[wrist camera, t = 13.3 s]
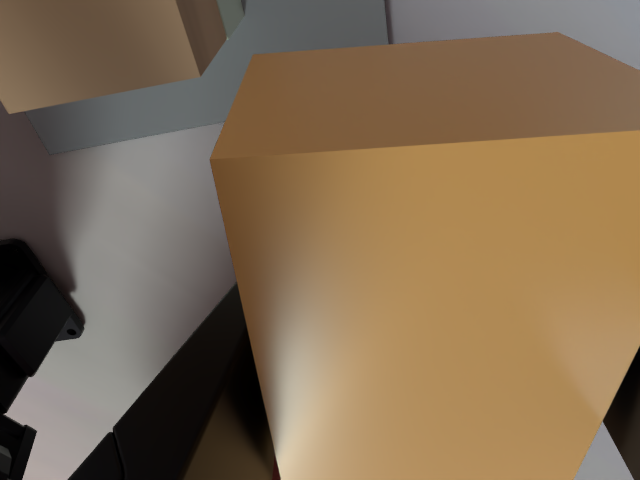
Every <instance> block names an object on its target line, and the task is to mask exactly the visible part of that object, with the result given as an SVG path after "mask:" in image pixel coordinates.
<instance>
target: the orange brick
mask: <svg viewBox="0 0 640 480" xmlns="http://www.w3.org/2000/svg"><path fill="white" fill-rule="evenodd" d="M210 163H211V168H212V172H213V177H214V181H215V186H216V190H217V195H218V199H219V204H220V208H221V213H222V217H223V222H224V226H225V231H226V235H227V240H228V244H229V248H230V253H231V257H232V262H233V266H234V271H235V275H236V280H237V284H238V289H239V293H240V298H241V302H242V307H243V311H244V316H245V320H246V325H247V329H248V334H249V338H250V343H251V347H252V352H253V356H254V361H255V365H256V370H257V374H258V378H259V383H260V387H261V392H262V396H263V401H264V405H265V410H266V414H267V419H268V423H269V428H270V432H271V437H272V441H273V446H274V450H275V455H276V459H277V464H278V468H279V473H280V477H281V480H573V479H574V477H575V475H576V473H577V471H578V469H579V467H580V465H581V463H582V461H583V459H584V457H585V455H586V453H587V451H588V449H589V447H590V445H591V443H592V441H593V439H594V437H595V435H596V433H597V431H598V429H599V427H600V425H601V423H602V421H603V419H604V417H605V415H606V413H607V411H608V409H609V407H610V405H611V403H612V401H613V399H614V397H615V395H616V393H617V391H618V389H619V387H620V385H621V383H622V381H623V379H624V377H625V375H626V373H627V370H628V368H629V366H630V364H631V362H632V360H633V358H634V356H635V354H636V352H637V350H638V348H639V346H640V70H637V69H635V68H633V67H631V66H629V65H627V64H625V63H623V62H620V61H618V60H616V59H614V58H612V57H610V56H608V55H606V54H603V53H601V52H599V51H597V50H595V49H593V48H591V47H589V46H586V45H584V44H582V43H580V42H578V41H576V40H574V39H572V38H569V37H567V36H565V35H563V34H561V33H559V32H553V33H540V34H526V35H512V36H498V37H485V38H471V39H457V40H444V41H430V42H416V43H403V44H389V45H375V46H362V47H348V48H334V49H320V50H307V51H293V52H279V53H266V54H253V55H252V58H251V60H250V63H249V65H248V68H247V70H246V72H245V75H244V77H243V80H242V82H241V85H240V87H239V89H238V92H237V94H236V97H235V99H234V102H233V104H232V106H231V109H230V111H229V114H228V116H227V119H226V121H225V123H224V126H223V128H222V131H221V133H220V136H219V138H218V140H217V143H216V145H215V148H214V150H213V153H212V155H211V157H210Z"/></svg>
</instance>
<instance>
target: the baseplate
mask: <svg viewBox="0 0 640 480" xmlns="http://www.w3.org/2000/svg"><path fill="white" fill-rule="evenodd" d="M216 2H217V6H218V9H219V13H220V16H221V20H222V23H223V27H224V30H225V34H226V37H227V40H226V41H225V43H224V44H223V45H222V47H221V48H220V50H219V51H218V53H217V54H216V56H215V57H214V58H213V60H212V61H211V63H210V64H209V66H208V67H207V68H206V70H205V71H204V73H203V74H202V76H201V77H198V78H193V79H188V80H183V81H177V82H172V83H167V84H162V85H157V86H152V87H146V88H141V89H136V90H131V91H126V92H121V93H115V94H110V95H105V96H100V97H95V98H90V99H84V100H79V101H74V102H69V103H64V104H59V105H54V106H48V107H43V108H38V109H33V110H28V111H24V112H25V114H26V115H27V117H28V119H29V121H30V122H31V124H32V126H33V127H34V129H35V131H36V133H37V134H38V136H39V138H40V140H41V141H42V143H43V145H44V146H45V148H46V150H47V152H48V153H49V155H52V154H57V153H62V152H68V151H73V150H78V149H84V148H89V147H94V146H99V145H105V144H110V143H115V142H121V141H126V140H131V139H137V138H142V137H147V136H152V135H158V134H163V133H168V132H174V131H179V130H184V129H190V128H195V127H200V126H205V125H211V124H216V123H221V122H225V121H226V119H227V116H228V114H229V111H230V109H231V106H232V104H233V102H234V99H235V97H236V94H237V92H238V89H239V87H240V85H241V82H242V80H243V77H244V75H245V72H246V70H247V68H248V65H249V63H250V60H251V58H252V55H253V54H266V53H279V52H293V51H307V50H320V49H334V48H348V47H362V46H375V45H388V35H387V25H386V14H385V4H384V0H216Z"/></svg>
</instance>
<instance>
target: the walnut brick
mask: <svg viewBox="0 0 640 480" xmlns="http://www.w3.org/2000/svg"><path fill="white" fill-rule="evenodd" d="M226 40H227V37H226V34H225V30H224V27H223V23H222V20H221V16H220V13H219V9H218V6H217V2H216V0H0V100H1V102H2V104H3V105H4V107H5V109H6V110H7V112H8V114H12V113H17V112H23V111H28V110H33V109H38V108H43V107H48V106H54V105H59V104H64V103H69V102H74V101H79V100H84V99H90V98H95V97H100V96H105V95H110V94H115V93H121V92H126V91H131V90H136V89H141V88H146V87H152V86H157V85H162V84H167V83H172V82H177V81H183V80H188V79H193V78H198V77H201V76H202V74H203V73H204V71H205V70H206V68H207V67H208V66H209V64H210V63H211V61H212V60H213V58H214V57H215V56H216V54H217V53H218V51H219V50H220V48H221V47H222V45H223V44H224V43H225V41H226Z"/></svg>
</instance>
